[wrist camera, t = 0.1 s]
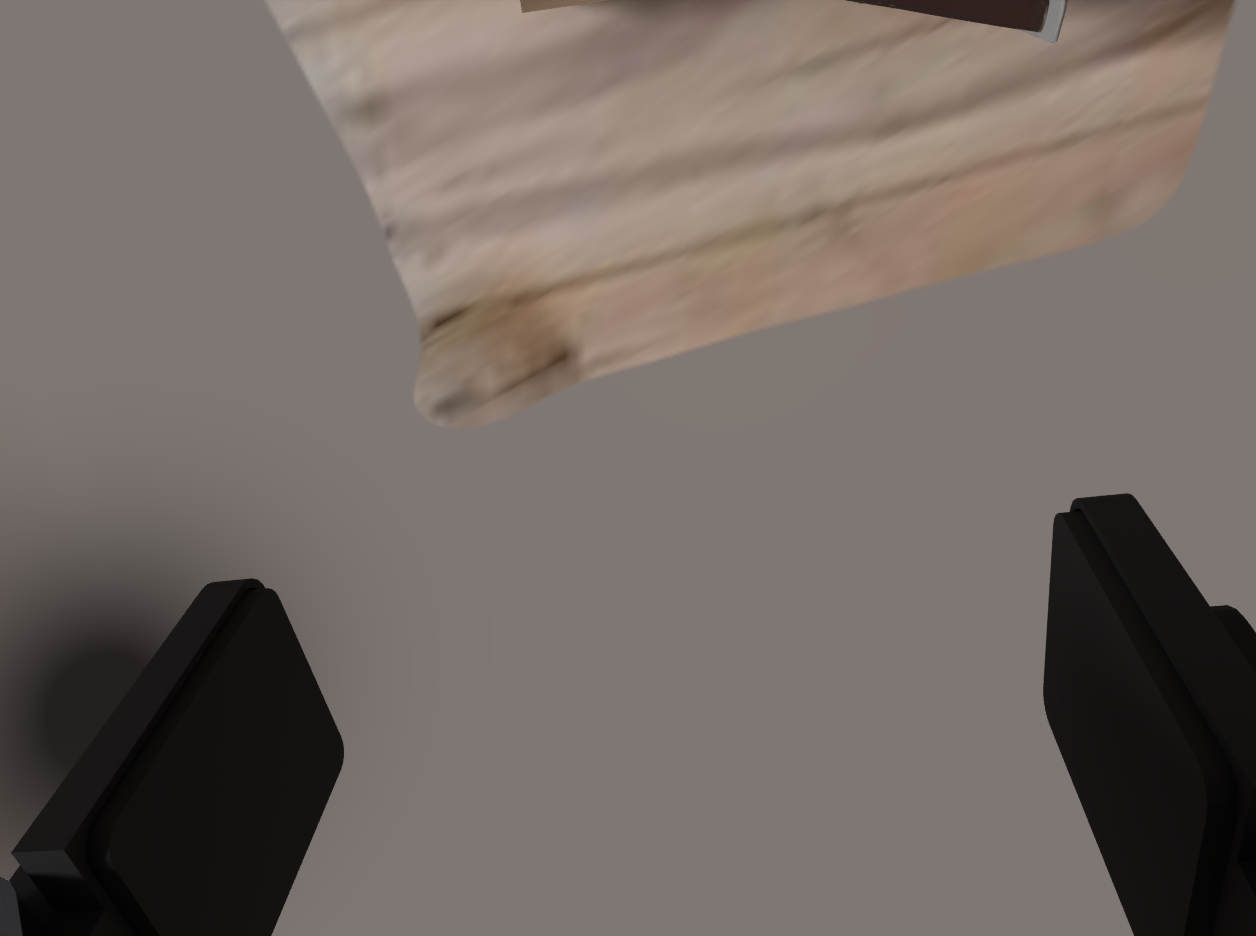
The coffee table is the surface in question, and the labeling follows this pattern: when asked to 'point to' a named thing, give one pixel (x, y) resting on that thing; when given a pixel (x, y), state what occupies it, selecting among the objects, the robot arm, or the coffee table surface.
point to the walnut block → (550, 4)
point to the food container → (992, 13)
